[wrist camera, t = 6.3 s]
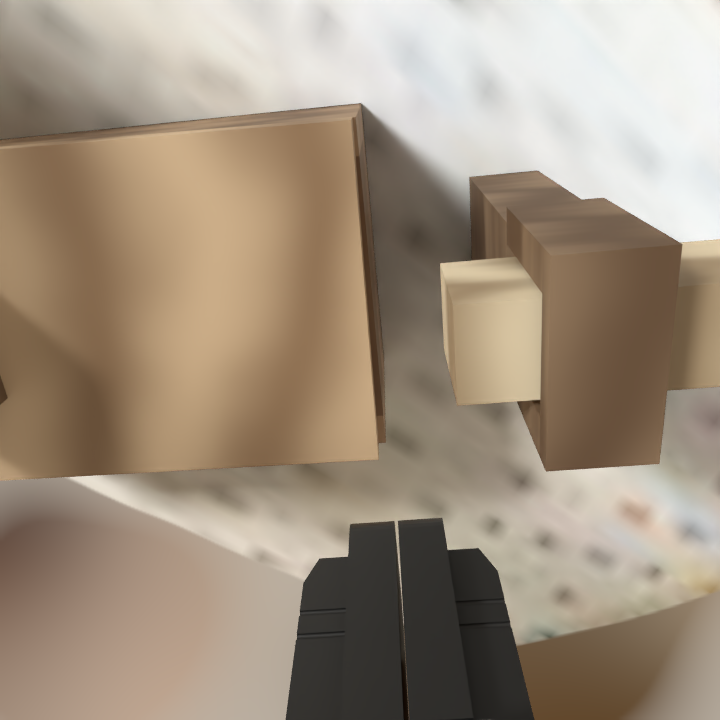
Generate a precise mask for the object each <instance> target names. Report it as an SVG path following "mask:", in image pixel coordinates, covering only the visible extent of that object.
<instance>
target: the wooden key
mask: <svg viewBox="0 0 720 720" xmlns="http://www.w3.org/2000/svg"><path fill="white" fill-rule="evenodd" d="M681 244H683V245H682V254H681V264H680V273H679V283H678V292H677V302H676V311H675V320H674V330H673V339H672V349H671V358H670V368H669V377H668V387H667V390H681V389H694V388H708V387H720V239H717V240H705V241H694V242H682V243H681ZM440 274H441V295H442V316H443V337H444V351H445V356H446V360H447V364H448V368H449V373H450V377H451V381H452V385H453V390H454V394H455V398H456V403H457V406H460V405H474V404H488V403H502V402H515V401H529V400H540V390H541V335H542V292H541V291H540V290H539V288H538V287H537V286H536V284H535V283H534V281H533V280H532V279H531V277H530V276H529V274H528V273H527V272H526V270H525V269H524V267H523V266H522V265H521V263H520V262H519V261H518V259H517V258H516V257H507V258H496V259H484V260H472V261H461V262H449V263H440Z"/></svg>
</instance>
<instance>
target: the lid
mask: <svg viewBox="0 0 720 720" xmlns="http://www.w3.org/2000/svg"><path fill="white" fill-rule="evenodd" d="M363 460H379V443H378V430H377V418H376V405H375V393H374V380H373V368H372V356H371V343H370V331H369V318H368V306H367V293H366V281H365V269H364V256H363V244H362V231H361V219H360V206H359V194H358V181H357V169H356V157H355V144H354V132H353V119H352V117H347V118H335V119H323V120H311V121H299V122H287V123H275V124H263V125H252V126H240V127H228V128H216V129H204V130H192V131H180V132H169V133H157V134H145V135H133V136H121V137H109V138H97V139H85V140H74V141H62V142H50V143H38V144H26V145H14V146H2V147H0V481H2V480H19V479H20V480H21V479H39V478H56V477H75V476H93V475H111V474H129V473H147V472H165V471H183V470H201V469H219V468H237V467H255V466H273V465H291V464H309V463H327V462H345V461H363Z"/></svg>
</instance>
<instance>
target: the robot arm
mask: <svg viewBox="0 0 720 720" xmlns="http://www.w3.org/2000/svg"><path fill="white" fill-rule="evenodd" d="M398 529H399V546H400V563H401V581H402V598H403V612H402V599H401V587H400V576H399V565H398V554H397V543H396V532H395V523H394V521H389V522H374V523H359V524H350V533H349V554H348V557H338V558H322V559H319V560H318V562H317V563H316V565H315V566H314V568H313V569H312V571H311V572H310V574H309V575H308V577H307V579H306V580H305V582H304V583H303V591H302V599H301V606H300V616H299V622H298V630H297V640H296V645H295V653H294V660H293V668H292V675H291V683H290V690H289V698H288V706H287V714H286V720H534V717H533V713H532V709H531V705H530V701H529V697H528V692H527V688H526V684H525V681H524V676H523V672H522V668H521V664H520V660H519V656H518V652H517V648H516V644H515V640H514V636H513V632H512V628H511V626H510V620H509V615H508V611H507V607H506V604H505V601H504V595H503V591H502V587H501V583H500V579H499V575H498V571H497V570H496V568H495V567H494V566H493V565H492V564H491V563H490V561H489V560H488V559H487V558H486V557H485V556H484V554H483V553H482V552H481V551H480V550H479V548H476V549H460V550H447V544H446V538H445V531H444V525H443V519H442V518H432V519H417V520H402V521H398ZM403 616H404V626H403ZM404 633H405V643H404ZM404 644H405V645H404ZM405 651H406V661H405ZM405 662H406V663H405ZM406 667H407V679H406ZM407 684H408V685H407ZM407 686H408V697H407ZM408 701H409V714H408Z"/></svg>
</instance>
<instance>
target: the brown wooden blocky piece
mask: <svg viewBox="0 0 720 720" xmlns="http://www.w3.org/2000/svg"><path fill="white" fill-rule="evenodd" d="M347 117H352V119H353V132H354V144H355V157H356V169H357V181H358V194H359V206H360V219H361V231H362V244H363V256H364V269H365V281H366V293H367V306H368V318H369V331H370V343H371V356H372V368H373V380H374V393H375V405H376V418H377V430H378V443H385V442H386V429H385V385H384V354H383V343H382V332H381V320H380V309H379V298H378V286H377V275H376V264H375V253H374V241H373V230H372V219H371V207H370V196H369V185H368V173H367V162H366V151H365V139H364V128H363V117H362V106H361V103H359V104H349V105H339V106H329V107H319V108H310V109H300V110H290V111H280V112H270V113H260V114H250V115H240V116H231V117H221V118H211V119H201V120H191V121H181V122H171V123H161V124H152V125H142V126H132V127H122V128H112V129H102V130H92V131H82V132H73V133H63V134H53V135H43V136H33V137H23V138H13V139H3V140H0V147H2V146H14V145H26V144H38V143H50V142H62V141H74V140H85V139H97V138H109V137H121V136H133V135H145V134H157V133H169V132H180V131H192V130H204V129H216V128H228V127H240V126H252V125H263V124H275V123H287V122H299V121H311V120H323V119H335V118H347ZM469 178H470V215H471V252H472V260H484V259H496V258H507V257H516V258H517V259H518V261H519V262H520V263H521V265H522V266H523V267H524V269H525V270H526V272H527V273H528V274H529V276H530V277H531V279H532V280H533V281H534V283H535V284H536V286H537V287H538V288H539V290H540V291H541V292H542V335H541V390H540V400H529V401H517V403H518V405H519V408H520V410H521V412H522V415H523V417H524V420H525V422H526V424H527V427H528V429H529V432H530V434H531V436H532V439H533V441H534V444H535V446H536V449H537V451H538V453H539V456H540V458H541V461H542V463H543V465H544V468H545V470H546V471H559V470H574V469H589V468H604V467H619V466H634V465H649V464H659V462H660V453H661V443H662V434H663V424H664V415H665V405H666V396H667V387H668V377H669V368H670V358H671V349H672V339H673V330H674V320H675V311H676V302H677V292H678V283H679V273H680V264H681V254H682V245H683V244H681V243H679V242H678V241H676V240H674V239H673V238H671V237H669V236H668V235H666V234H664V233H663V232H661V231H659V230H657V229H656V228H654V227H652V226H651V225H649V224H647V223H646V222H644V221H642V220H640V219H639V218H637V217H635V216H634V215H632V214H630V213H629V212H627V211H625V210H624V209H622V208H620V207H618V206H617V205H615V204H613V203H612V202H610V201H608V200H607V199H605V198H596V199H585V200H581V199H580V198H578V197H577V196H575V195H574V194H572V193H571V192H569V191H568V190H566V189H565V188H563V187H562V186H560V185H559V184H557V183H556V182H554V181H553V180H551V179H550V178H548V177H546V176H545V175H543V174H542V173H540V172H539V171H529V172H518V173H508V174H497V175H486V176H476V177H469Z"/></svg>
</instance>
